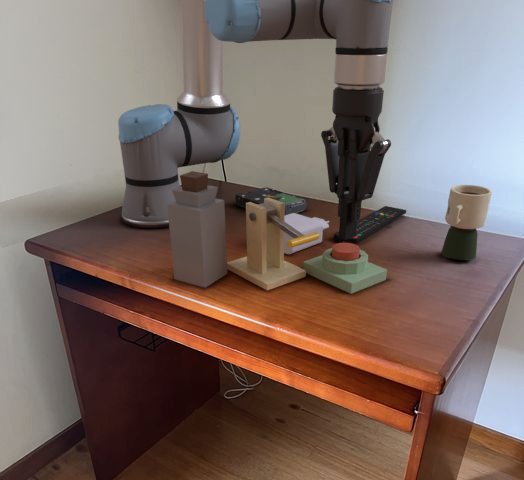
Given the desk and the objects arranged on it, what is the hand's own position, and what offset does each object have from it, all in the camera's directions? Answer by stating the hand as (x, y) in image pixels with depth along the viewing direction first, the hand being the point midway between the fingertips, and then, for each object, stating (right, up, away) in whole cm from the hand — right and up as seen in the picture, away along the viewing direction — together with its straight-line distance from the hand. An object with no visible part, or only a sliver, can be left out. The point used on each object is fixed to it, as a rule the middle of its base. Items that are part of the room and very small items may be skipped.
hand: (347, 237), depth 94 cm
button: (0, -3, +2) cm, 4 cm away
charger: (-7, +3, +19) cm, 20 cm away
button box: (0, -6, +4) cm, 7 cm away
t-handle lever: (-11, 0, -2) cm, 12 cm away
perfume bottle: (-26, -6, +4) cm, 27 cm away
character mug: (+23, -2, +11) cm, 25 cm away
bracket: (-14, -5, +5) cm, 16 cm away
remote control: (+9, +7, +25) cm, 28 cm away
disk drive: (-13, +15, +38) cm, 43 cm away
